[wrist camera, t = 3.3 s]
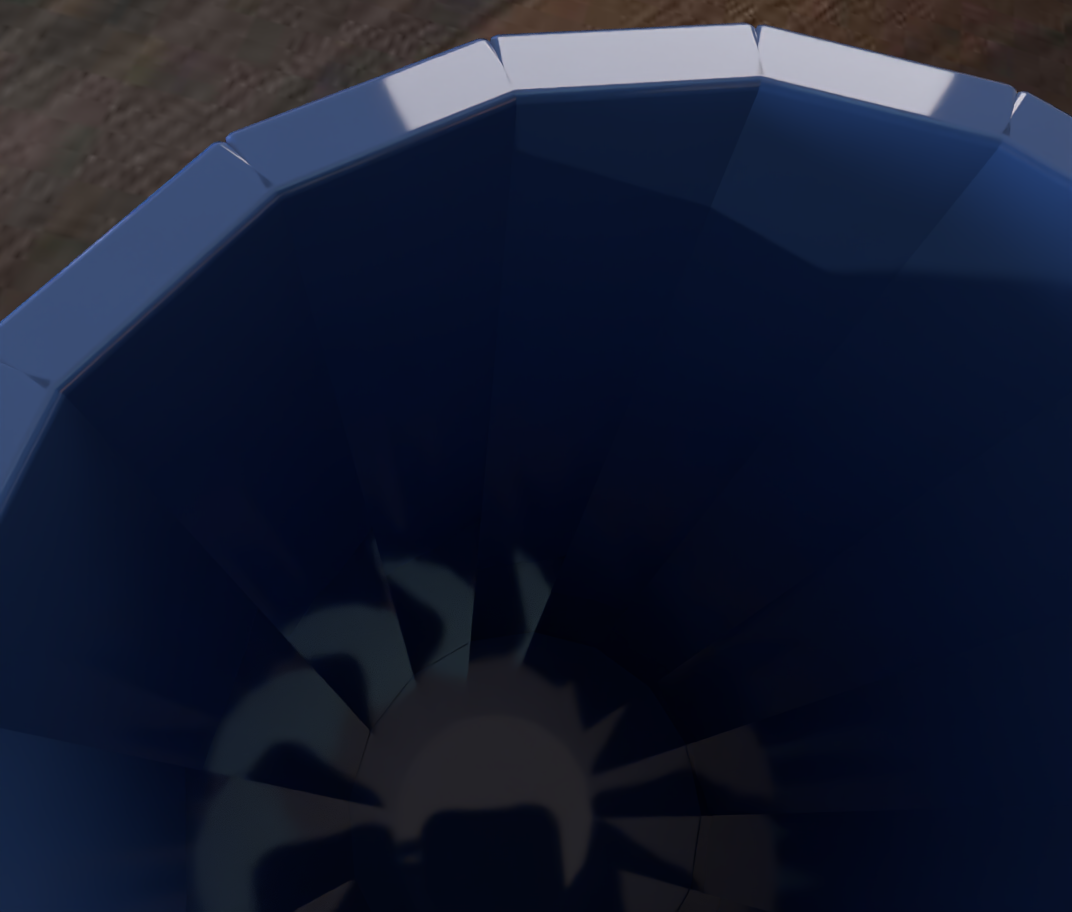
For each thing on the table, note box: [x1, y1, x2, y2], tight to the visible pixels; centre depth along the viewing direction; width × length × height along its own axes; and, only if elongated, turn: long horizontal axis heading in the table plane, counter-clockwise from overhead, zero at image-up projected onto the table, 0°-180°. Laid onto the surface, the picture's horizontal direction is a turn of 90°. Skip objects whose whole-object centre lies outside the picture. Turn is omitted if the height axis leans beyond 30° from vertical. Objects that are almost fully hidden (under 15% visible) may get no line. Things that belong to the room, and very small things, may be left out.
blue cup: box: [0, 23, 1072, 912], centre depth 9 cm, size 6×6×13 cm
